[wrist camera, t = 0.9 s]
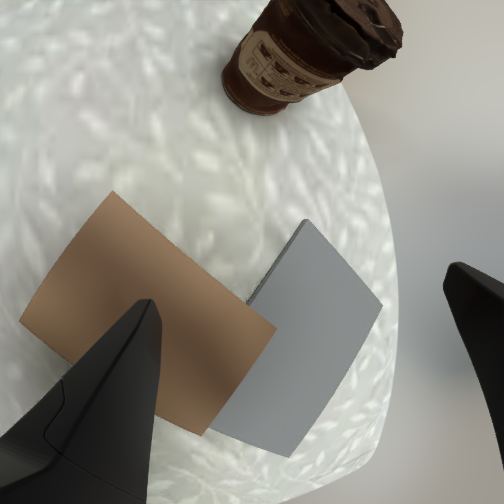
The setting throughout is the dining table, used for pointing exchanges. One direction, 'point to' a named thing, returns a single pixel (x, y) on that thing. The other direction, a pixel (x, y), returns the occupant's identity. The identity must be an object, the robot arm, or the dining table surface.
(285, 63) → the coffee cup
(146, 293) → the wooden seat
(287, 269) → the mat
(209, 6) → the dining table surface
